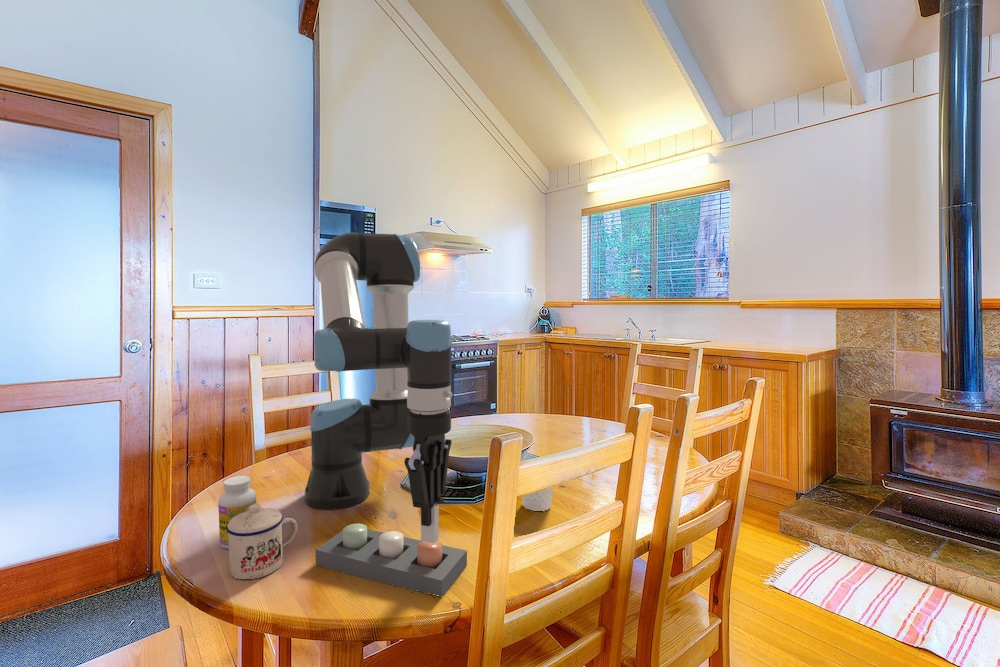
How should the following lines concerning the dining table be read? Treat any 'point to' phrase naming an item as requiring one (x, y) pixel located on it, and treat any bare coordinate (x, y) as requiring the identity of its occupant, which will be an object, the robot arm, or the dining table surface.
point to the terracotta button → (429, 554)
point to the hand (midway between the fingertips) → (429, 539)
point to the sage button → (355, 536)
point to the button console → (393, 564)
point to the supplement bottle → (233, 503)
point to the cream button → (391, 544)
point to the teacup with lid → (257, 542)
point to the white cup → (538, 500)
